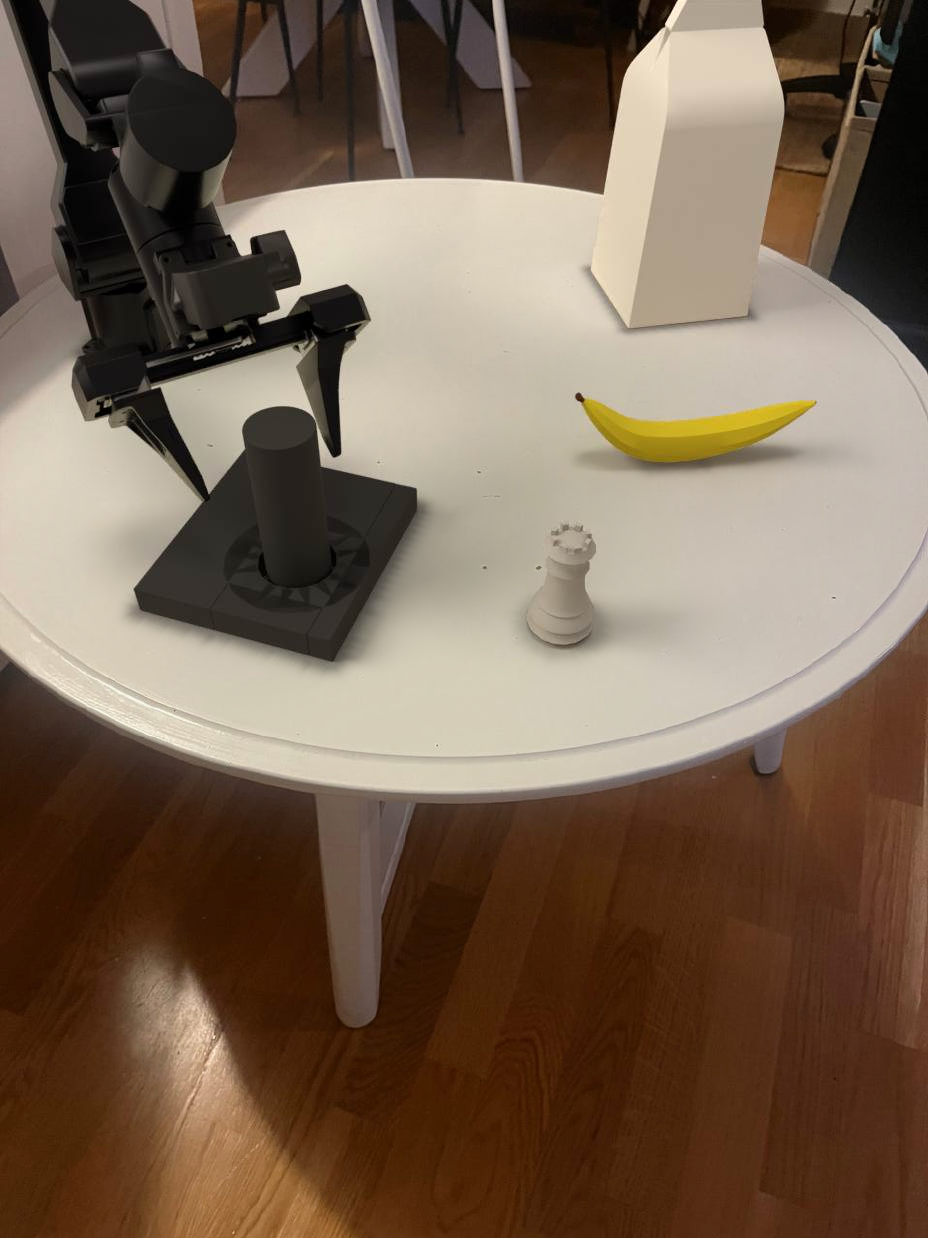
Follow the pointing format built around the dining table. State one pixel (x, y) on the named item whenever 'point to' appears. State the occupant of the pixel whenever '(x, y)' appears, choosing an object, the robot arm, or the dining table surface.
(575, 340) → the dining table surface
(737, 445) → the banana
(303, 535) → the post
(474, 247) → the dining table surface
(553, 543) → the rook chess piece
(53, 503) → the dining table surface
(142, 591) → the socket pad
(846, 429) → the dining table surface
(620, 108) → the milk
